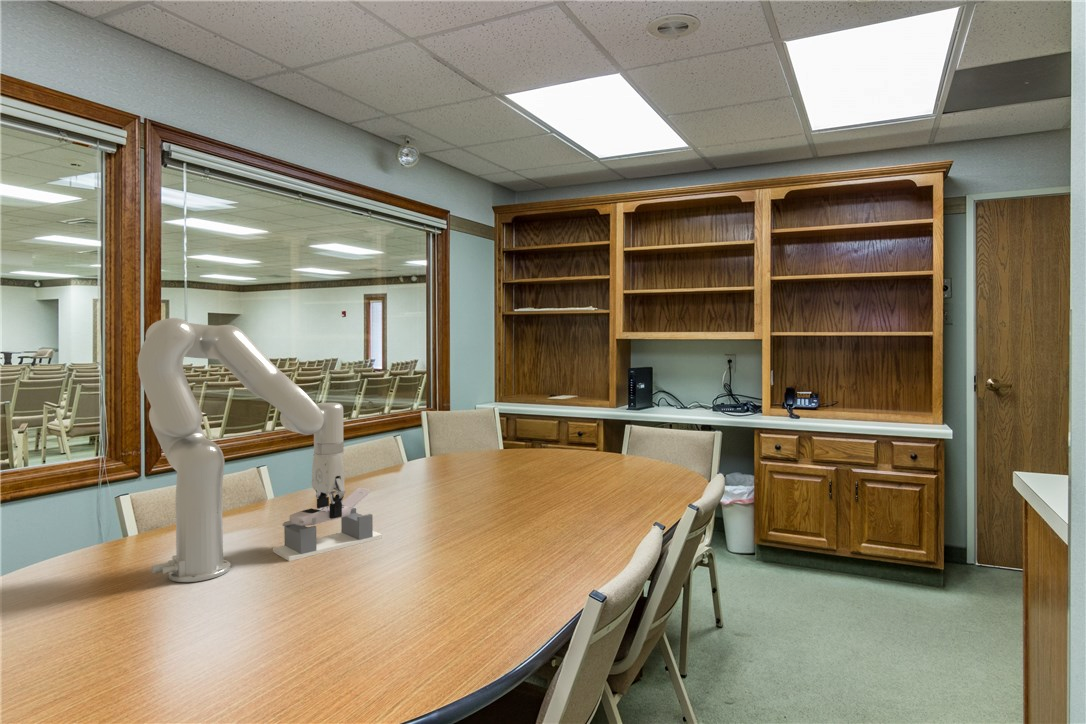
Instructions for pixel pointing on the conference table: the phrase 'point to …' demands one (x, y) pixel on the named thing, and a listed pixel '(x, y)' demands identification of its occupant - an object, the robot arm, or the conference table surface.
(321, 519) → the mobile phone
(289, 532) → the cradle stand
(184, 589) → the conference table surface
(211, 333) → the robot arm
